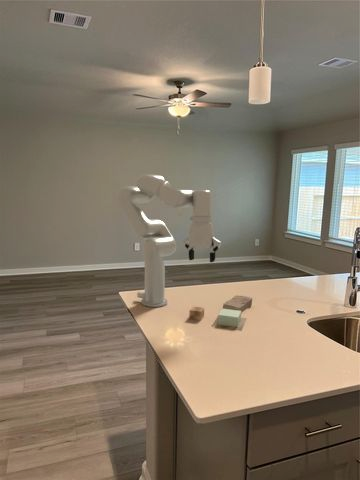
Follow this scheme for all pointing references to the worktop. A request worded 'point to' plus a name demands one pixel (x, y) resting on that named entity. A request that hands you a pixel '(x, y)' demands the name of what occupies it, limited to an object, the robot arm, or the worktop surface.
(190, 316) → the cherry block
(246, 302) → the brick
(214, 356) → the worktop surface
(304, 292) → the worktop surface
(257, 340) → the worktop surface
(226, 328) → the baseplate
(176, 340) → the worktop surface
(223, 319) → the base block
